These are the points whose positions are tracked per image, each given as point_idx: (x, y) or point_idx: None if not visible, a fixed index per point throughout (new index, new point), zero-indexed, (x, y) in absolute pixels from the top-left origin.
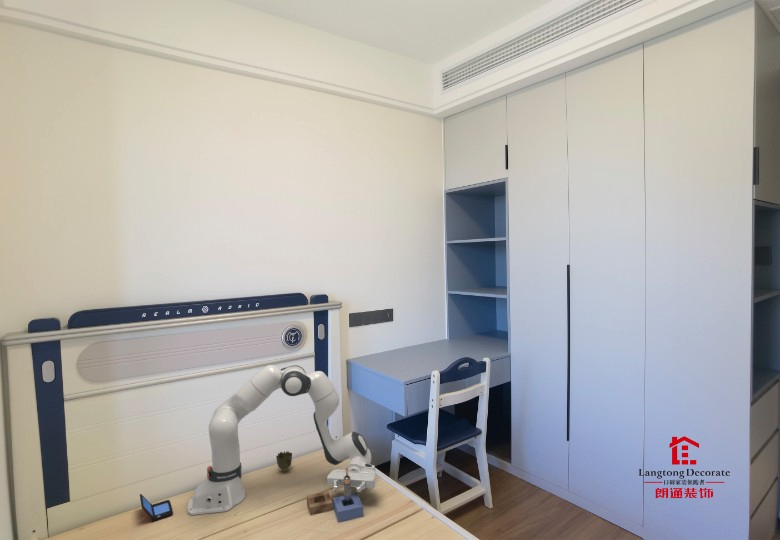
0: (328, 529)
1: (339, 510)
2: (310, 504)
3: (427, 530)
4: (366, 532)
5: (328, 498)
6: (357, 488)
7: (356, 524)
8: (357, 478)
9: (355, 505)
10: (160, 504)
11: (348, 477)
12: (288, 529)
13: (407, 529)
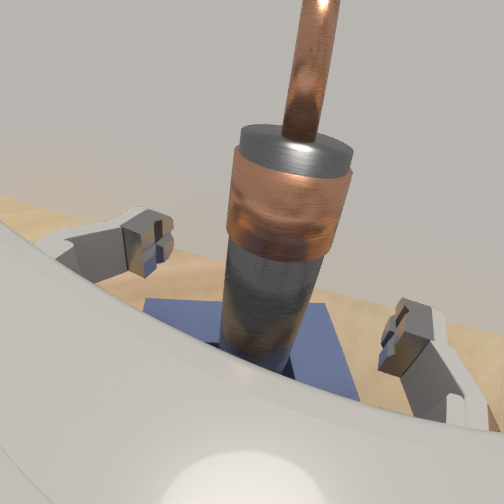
0: (351, 315)
1: (316, 313)
2: (494, 430)
3: (24, 211)
4: (186, 255)
5: None
6: (163, 214)
7: None
8: (63, 288)
9: (194, 322)
10: None
11: (273, 131)
12: (491, 347)
13: (56, 226)
